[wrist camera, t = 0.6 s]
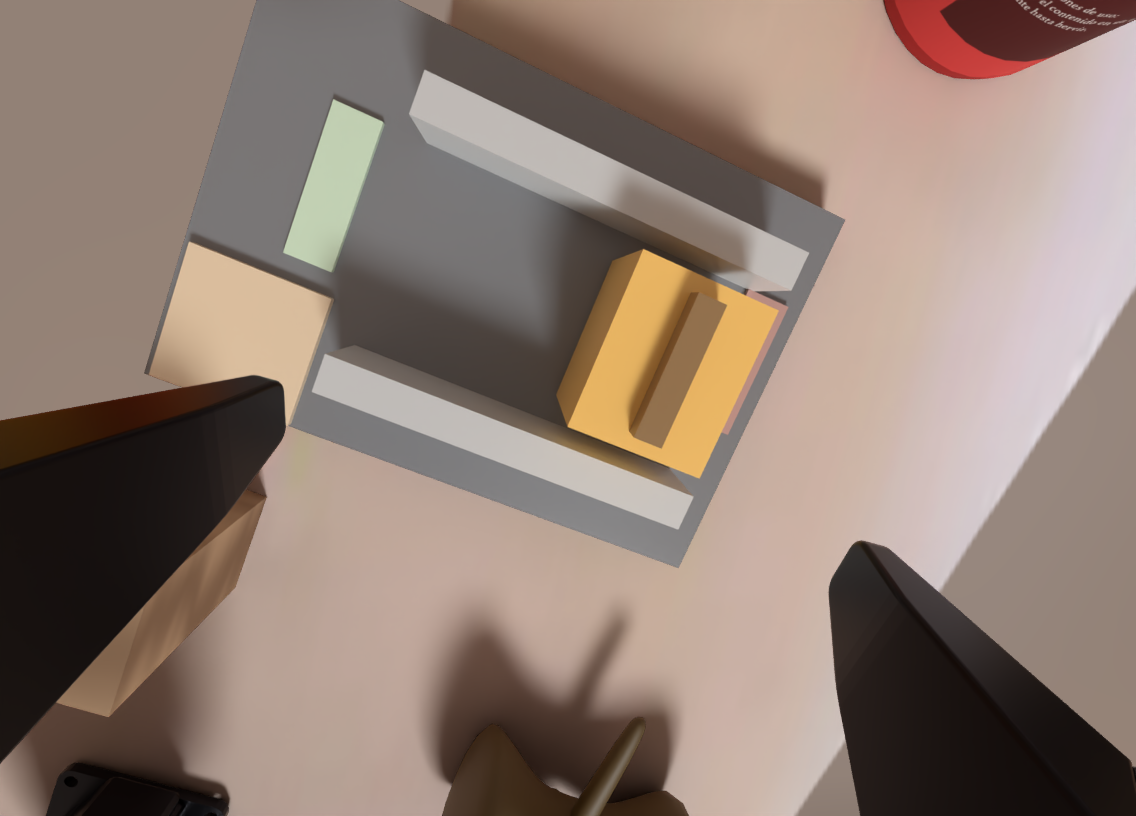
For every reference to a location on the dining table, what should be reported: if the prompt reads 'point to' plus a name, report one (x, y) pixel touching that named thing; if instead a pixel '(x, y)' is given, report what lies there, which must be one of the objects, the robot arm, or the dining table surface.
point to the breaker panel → (459, 259)
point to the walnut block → (169, 613)
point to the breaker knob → (662, 361)
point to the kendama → (532, 809)
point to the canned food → (1000, 31)
